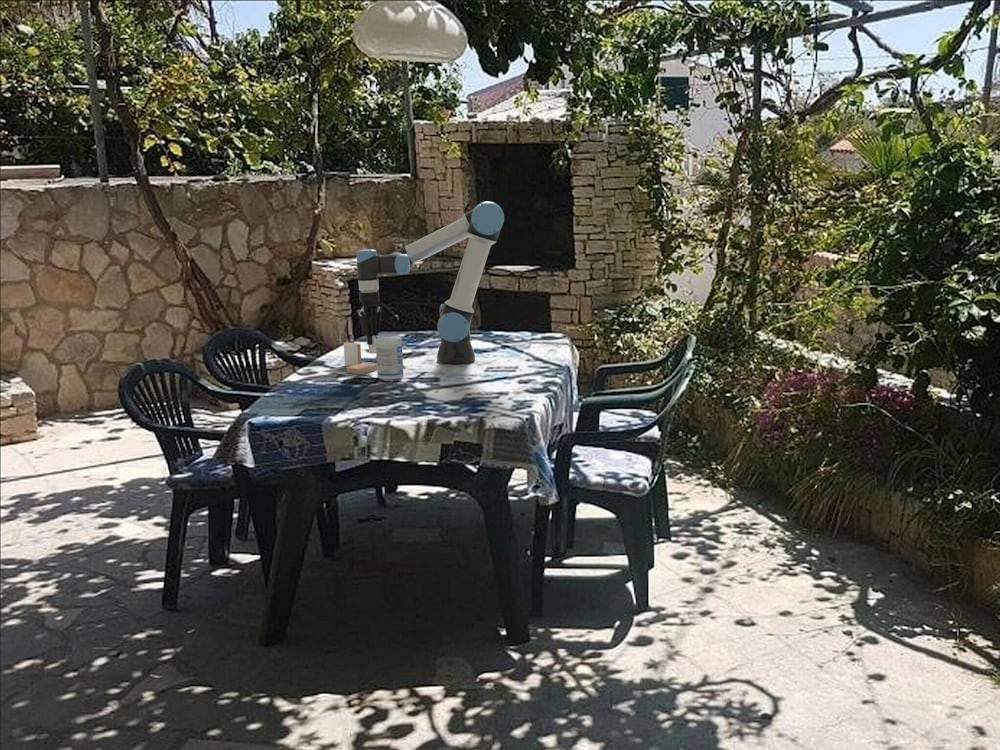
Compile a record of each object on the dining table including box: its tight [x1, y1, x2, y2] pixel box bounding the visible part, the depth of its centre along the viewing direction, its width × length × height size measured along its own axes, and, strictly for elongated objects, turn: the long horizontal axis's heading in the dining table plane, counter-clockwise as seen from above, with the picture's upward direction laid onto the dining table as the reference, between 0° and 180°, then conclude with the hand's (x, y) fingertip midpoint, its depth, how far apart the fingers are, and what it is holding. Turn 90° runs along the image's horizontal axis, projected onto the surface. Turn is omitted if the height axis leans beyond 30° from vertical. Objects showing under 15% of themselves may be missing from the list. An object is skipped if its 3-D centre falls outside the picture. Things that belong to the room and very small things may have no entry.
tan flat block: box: [343, 341, 362, 366], centre depth 342 cm, size 7×2×9 cm, turn 57°
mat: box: [322, 360, 377, 377], centre depth 339 cm, size 17×22×1 cm
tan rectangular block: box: [347, 363, 377, 375], centre depth 333 cm, size 7×2×9 cm
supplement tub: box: [375, 336, 404, 380], centre depth 321 cm, size 10×10×15 cm
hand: (372, 352), depth 337 cm, fingers closed
